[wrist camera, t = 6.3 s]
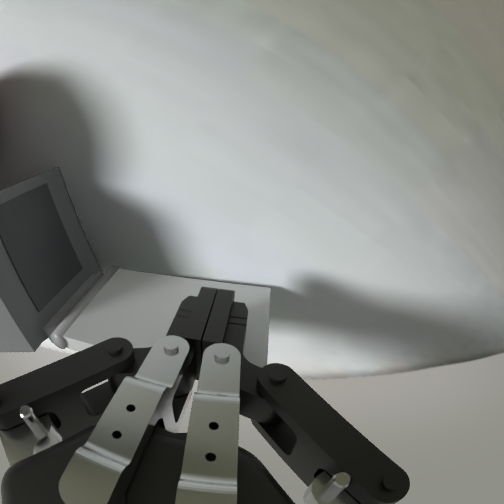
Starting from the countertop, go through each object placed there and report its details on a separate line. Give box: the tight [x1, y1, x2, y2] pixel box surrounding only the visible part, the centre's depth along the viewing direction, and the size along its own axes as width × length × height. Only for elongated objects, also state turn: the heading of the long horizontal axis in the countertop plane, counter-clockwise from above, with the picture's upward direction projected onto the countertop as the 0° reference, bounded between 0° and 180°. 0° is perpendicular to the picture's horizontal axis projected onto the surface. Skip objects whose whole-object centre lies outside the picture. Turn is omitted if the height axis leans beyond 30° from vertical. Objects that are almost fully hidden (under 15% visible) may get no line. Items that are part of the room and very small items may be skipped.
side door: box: [51, 266, 271, 368], centre depth 15 cm, size 1×11×7 cm, turn 85°
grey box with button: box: [0, 167, 103, 352], centre depth 15 cm, size 12×9×9 cm
